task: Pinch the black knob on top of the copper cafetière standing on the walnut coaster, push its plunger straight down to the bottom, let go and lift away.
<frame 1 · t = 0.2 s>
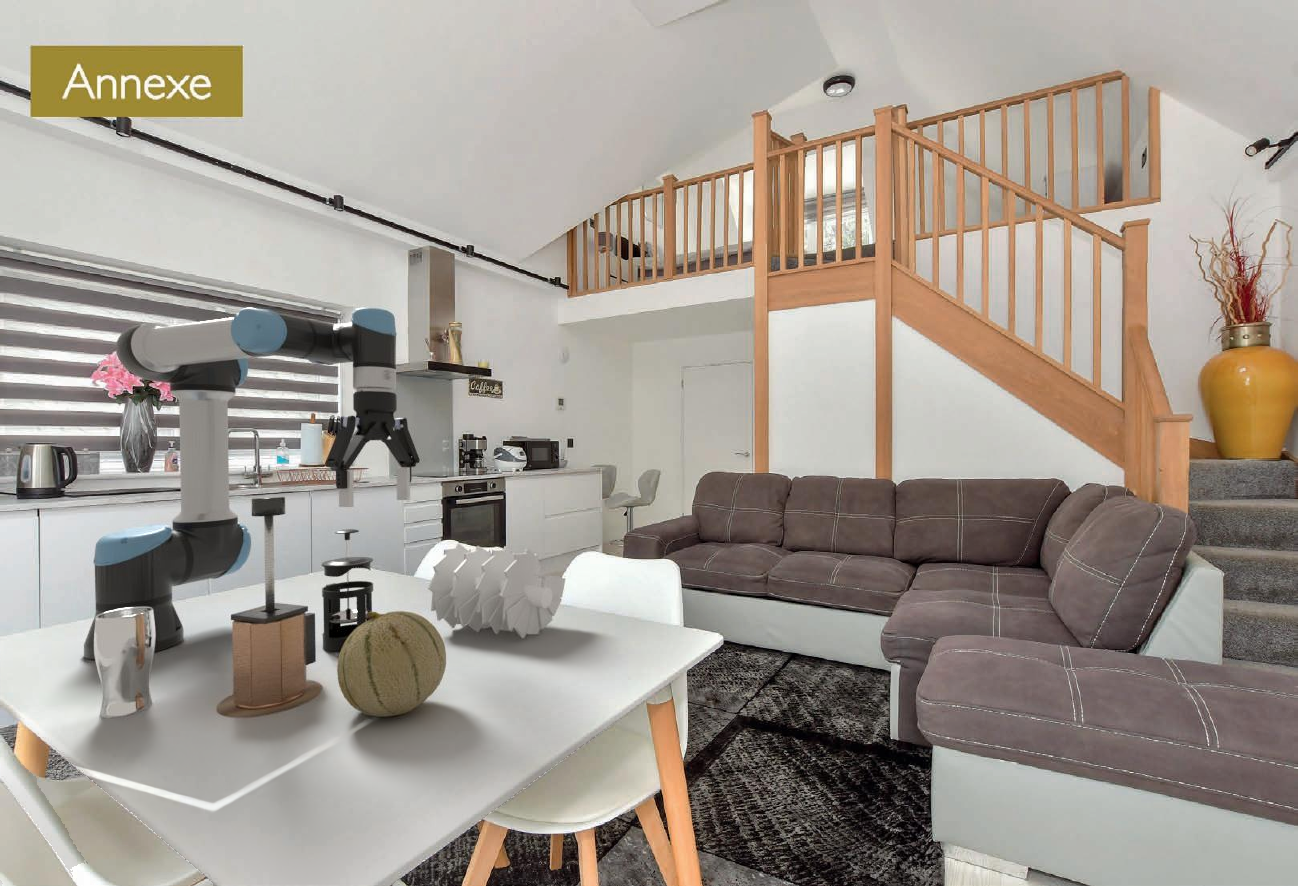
hand: (376, 503, 116), 28 cm above the table, tool pointing down, fingers open, 13 cm apart
spiral staircase: (496, 631, 128), on the table
carafe: (271, 697, 94), resting on coaster
plunger: (269, 565, 94), point 21 cm above the table, slide at 0.0 cm
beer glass: (126, 714, 91), on the table
cantaloupe: (393, 713, 90), on the table
coaster: (271, 700, 94), on the table
french press: (347, 648, 119), on the table
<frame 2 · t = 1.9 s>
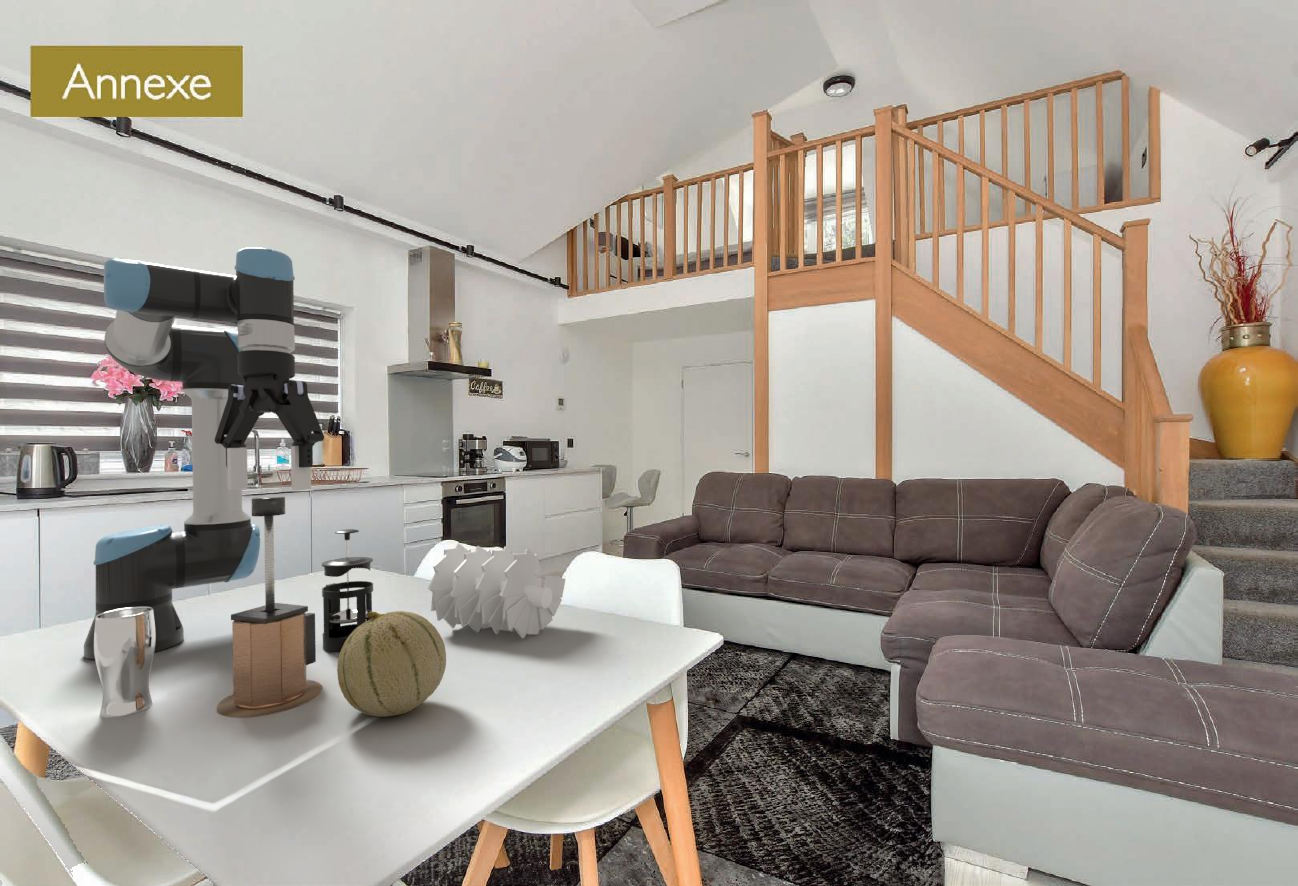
hand: (268, 489, 94), 33 cm above the table, tool pointing down, fingers open, 13 cm apart
nothing on the table moved.
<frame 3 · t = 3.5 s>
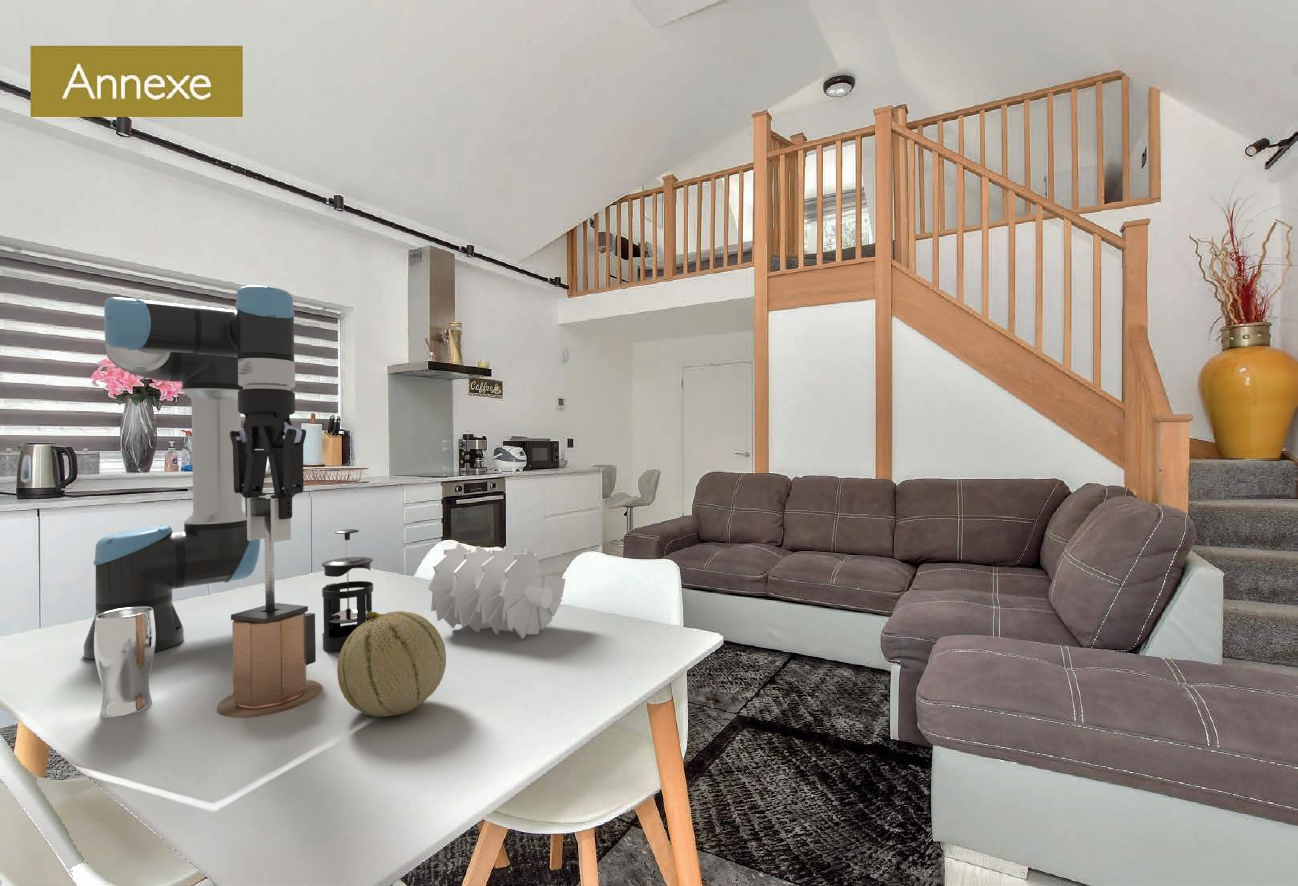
hand: (269, 539, 94), 25 cm above the table, tool pointing down, fingers closed on plunger, 4 cm apart
plunger: (269, 565, 94), point 21 cm above the table, slide at 0.0 cm, touching gripper
everything else where it was.
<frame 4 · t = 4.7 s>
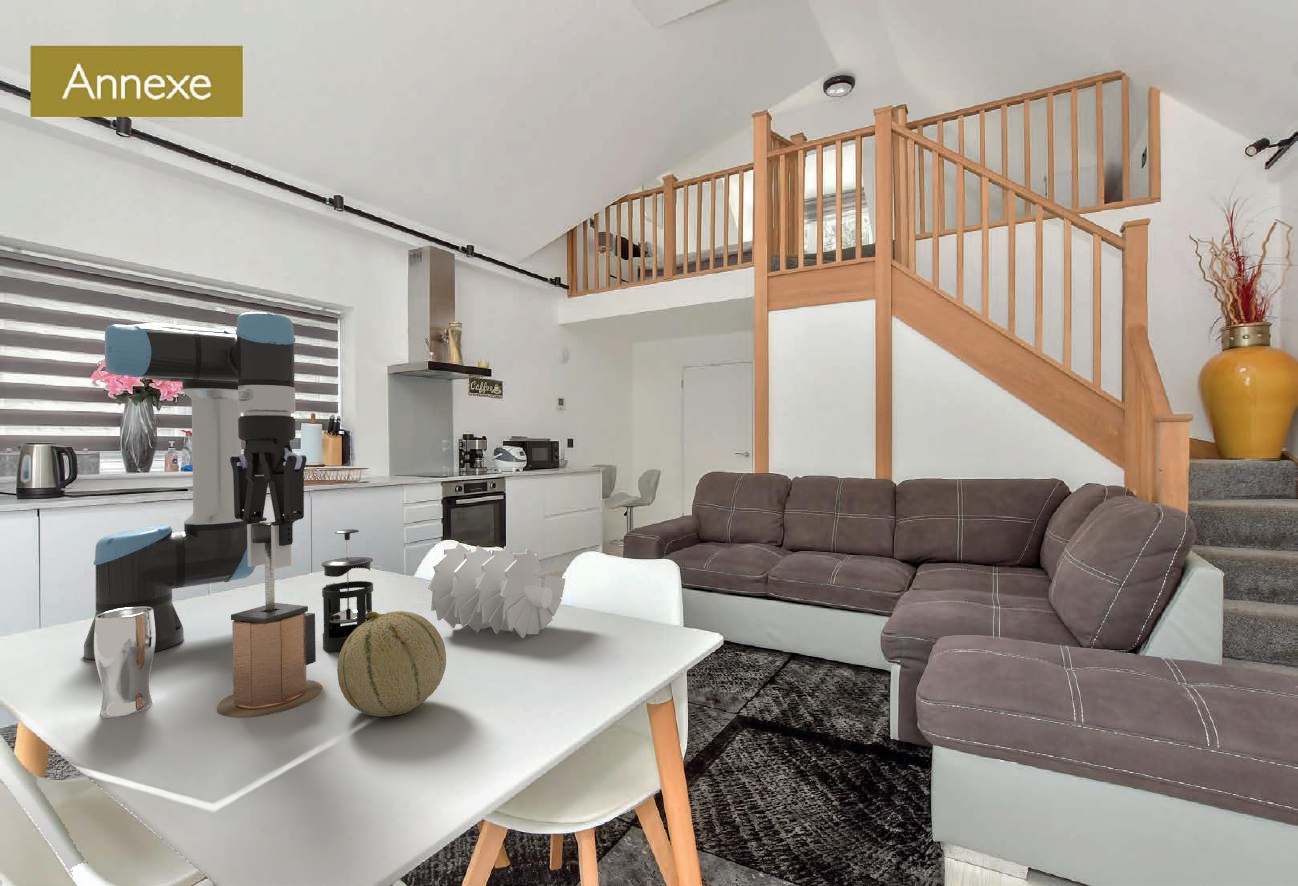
hand: (269, 565, 94), 21 cm above the table, tool pointing down, fingers closed on plunger, 4 cm apart
plunger: (269, 591, 94), point 17 cm above the table, slide at 4.0 cm, touching gripper
everything else where it was.
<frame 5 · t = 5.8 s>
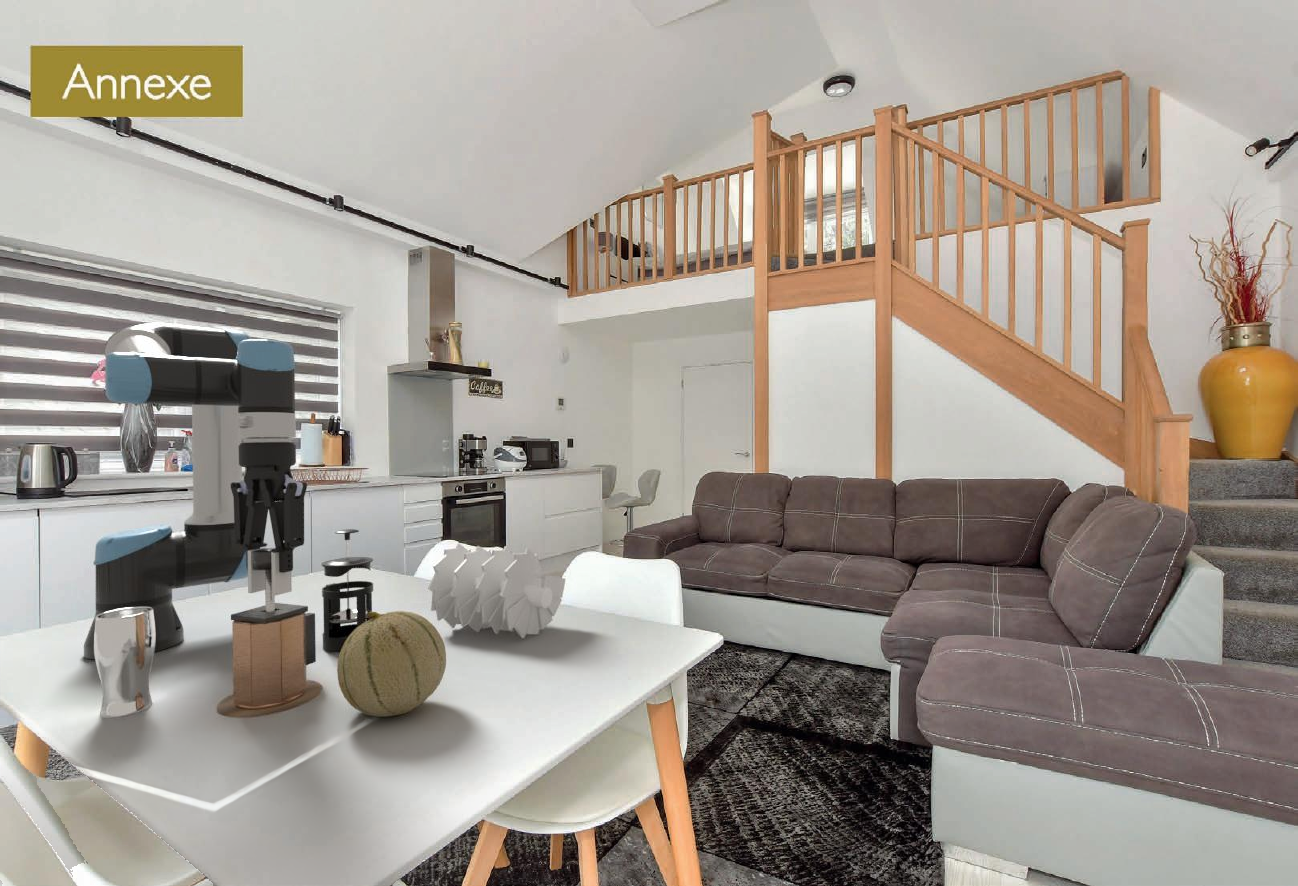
hand: (269, 591, 94), 17 cm above the table, tool pointing down, fingers closed on plunger, 4 cm apart
plunger: (270, 617, 94), point 13 cm above the table, slide at 8.1 cm, touching gripper
everything else where it was.
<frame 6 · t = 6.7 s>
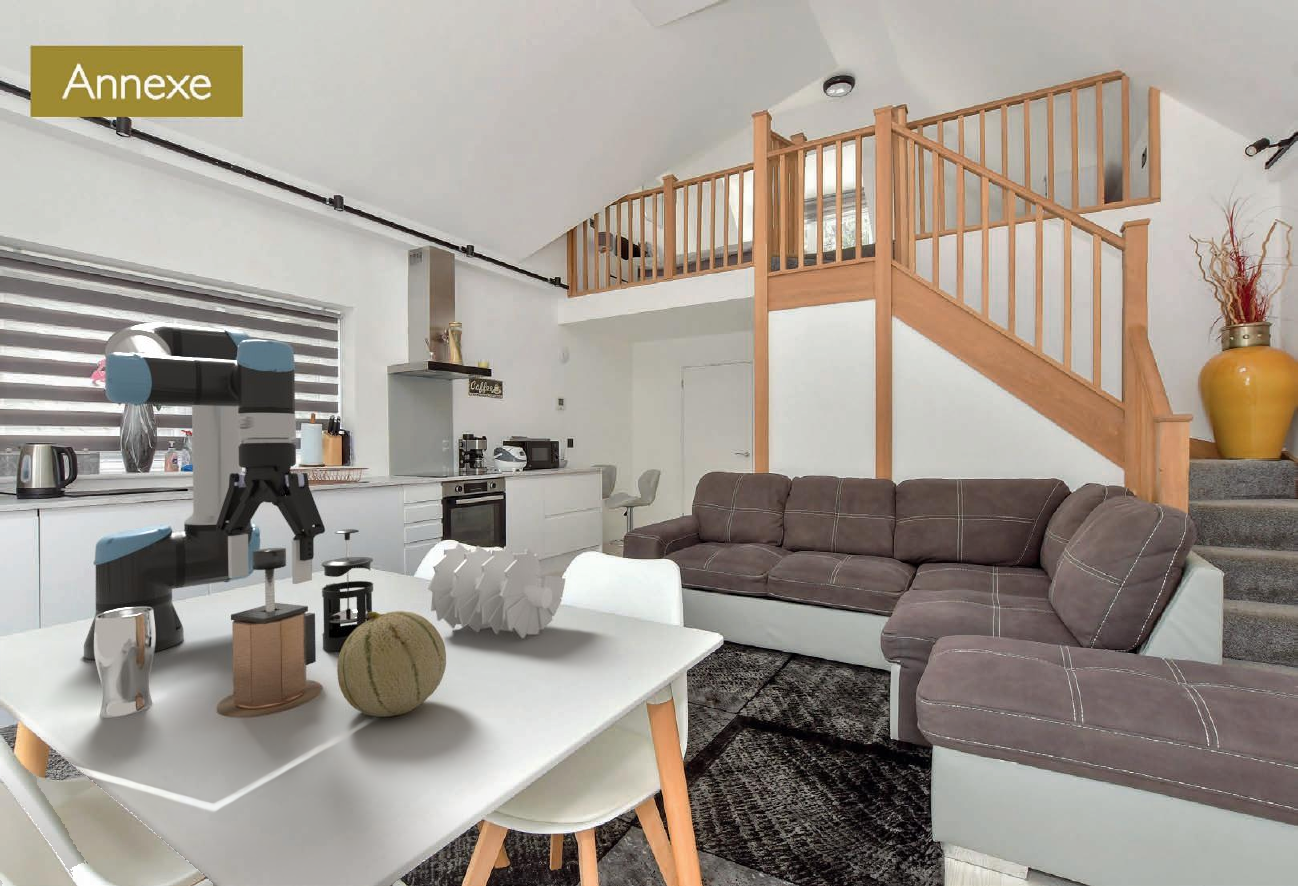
hand: (269, 579, 94), 19 cm above the table, tool pointing down, fingers open, 13 cm apart
plunger: (270, 617, 94), point 13 cm above the table, slide at 8.1 cm
everything else where it was.
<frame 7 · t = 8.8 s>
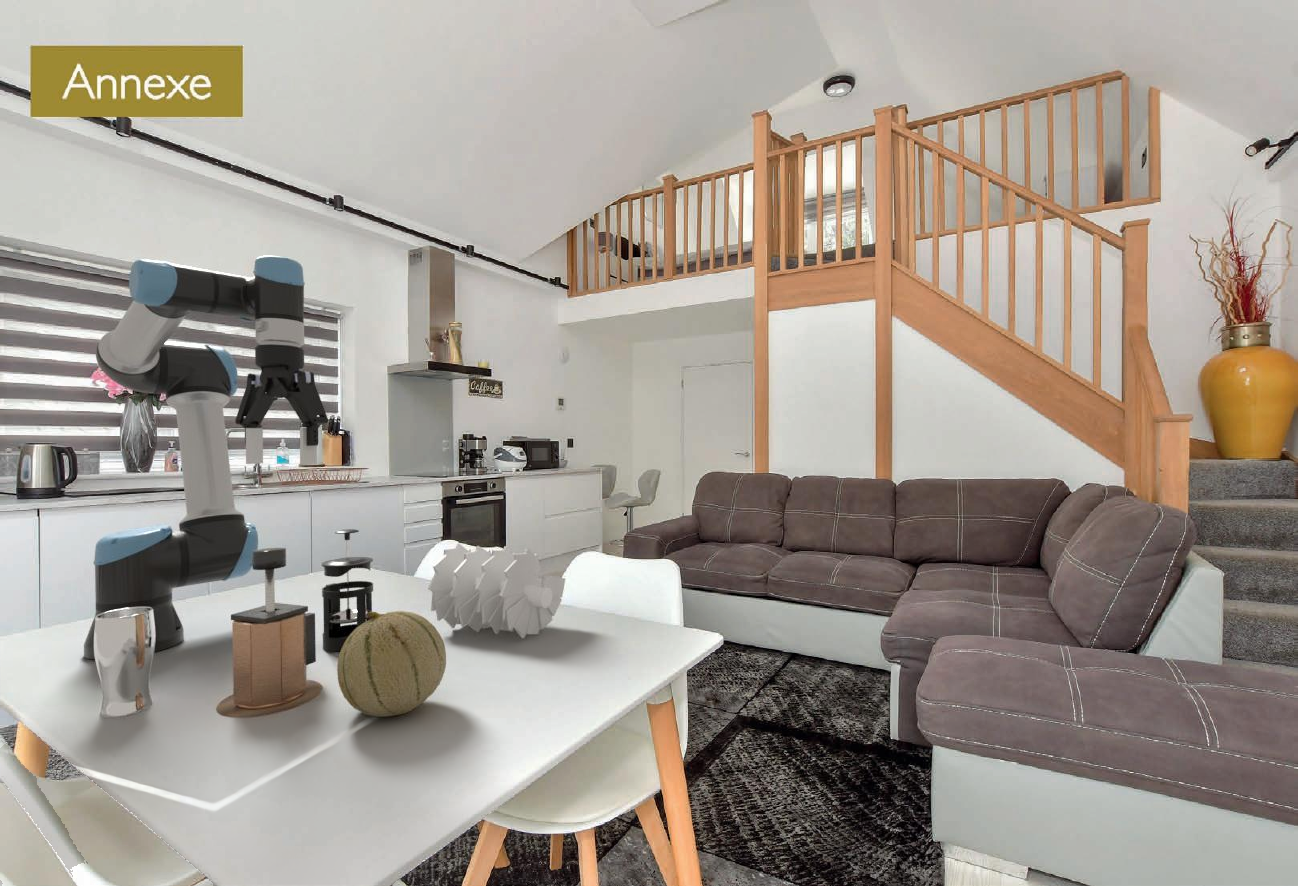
hand: (280, 464, 109), 36 cm above the table, tool pointing down, fingers open, 13 cm apart
nothing on the table moved.
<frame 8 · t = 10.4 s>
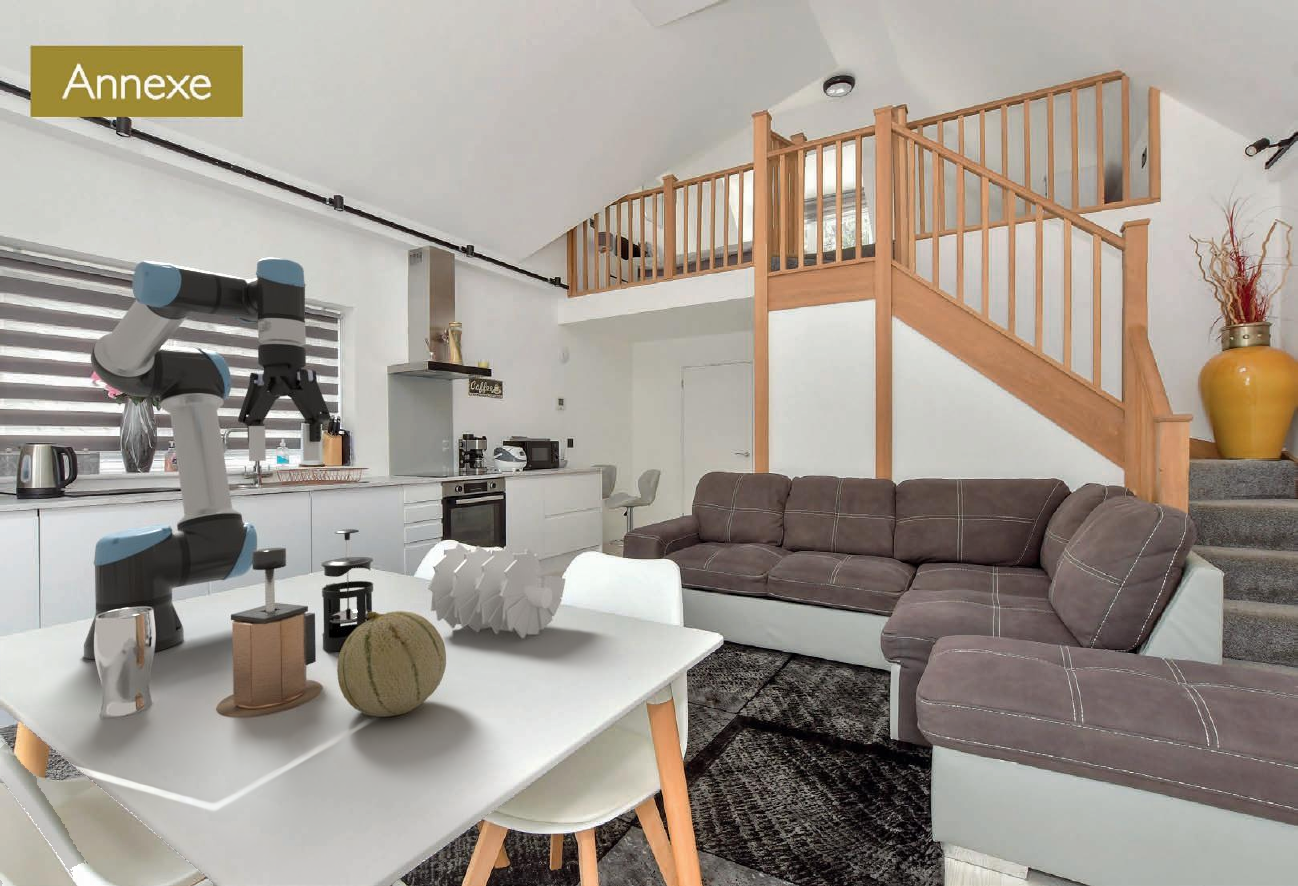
hand: (283, 460, 112), 37 cm above the table, tool pointing down, fingers open, 13 cm apart
nothing on the table moved.
at the end: plunger slide at 8.1 cm; the gripper is holding nothing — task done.
